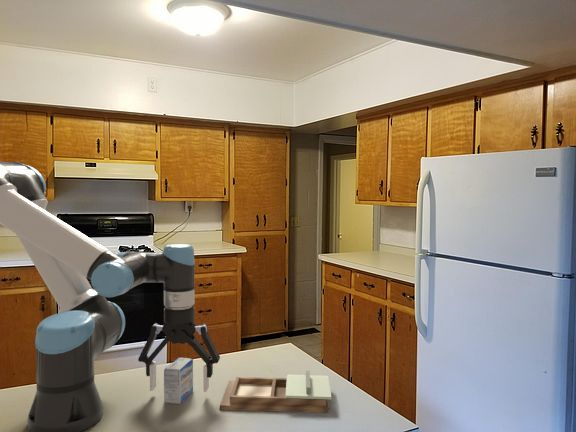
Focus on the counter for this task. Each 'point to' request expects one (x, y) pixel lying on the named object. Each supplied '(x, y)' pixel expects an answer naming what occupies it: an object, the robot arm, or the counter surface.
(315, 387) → the lid
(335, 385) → the counter surface
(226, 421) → the counter surface
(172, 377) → the medicine box
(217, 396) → the counter surface
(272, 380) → the brown compartment box
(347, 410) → the counter surface
